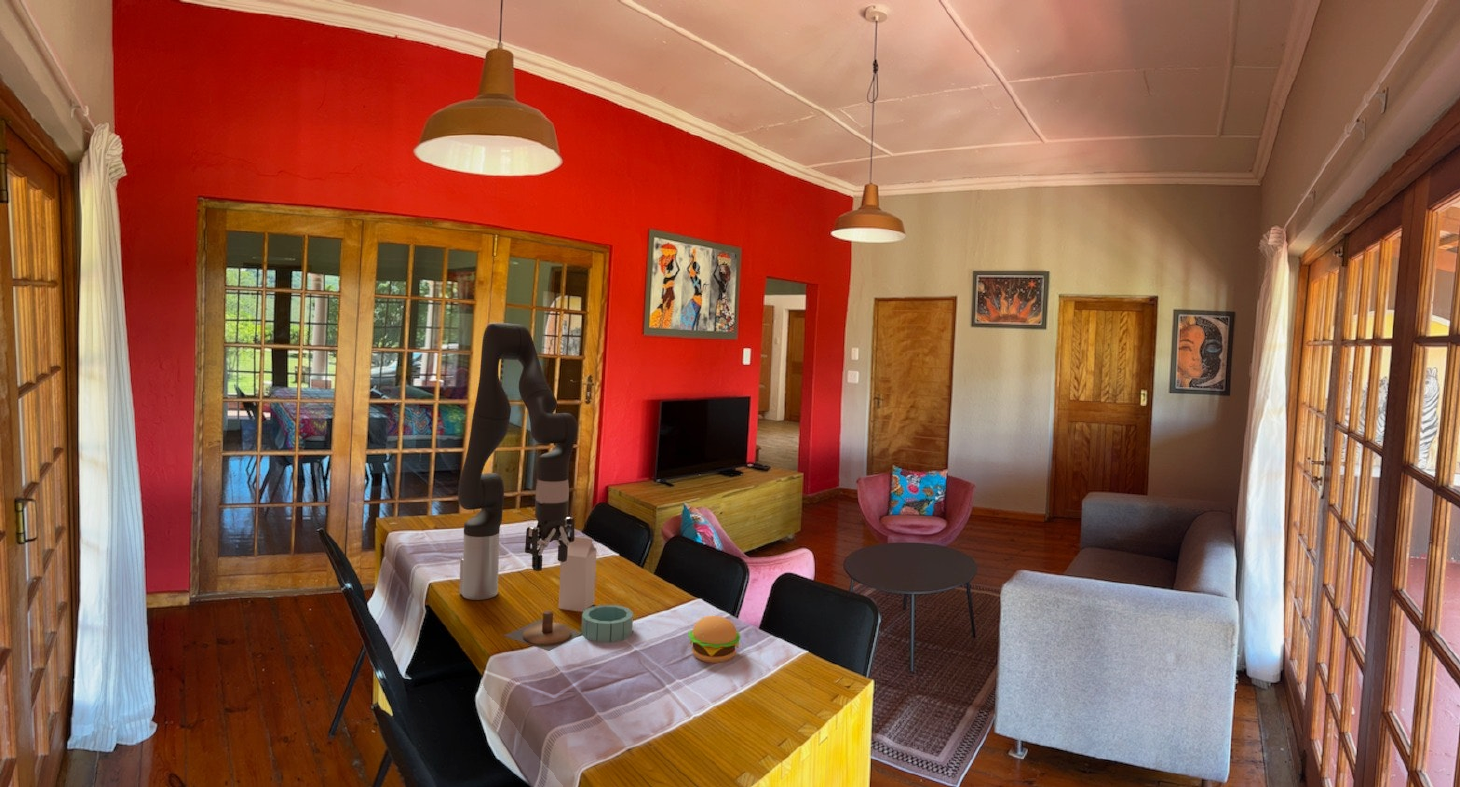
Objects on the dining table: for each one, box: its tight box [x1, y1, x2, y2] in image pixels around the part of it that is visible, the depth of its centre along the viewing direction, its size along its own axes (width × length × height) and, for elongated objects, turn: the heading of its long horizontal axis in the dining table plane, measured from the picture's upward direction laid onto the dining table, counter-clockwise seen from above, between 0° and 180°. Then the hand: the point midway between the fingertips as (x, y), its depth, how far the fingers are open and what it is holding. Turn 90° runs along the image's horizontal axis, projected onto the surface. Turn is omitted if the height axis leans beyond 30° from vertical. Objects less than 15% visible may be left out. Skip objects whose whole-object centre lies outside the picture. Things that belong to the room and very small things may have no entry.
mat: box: [503, 619, 582, 652], centre depth 173 cm, size 14×12×1 cm
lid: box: [523, 610, 571, 645], centre depth 172 cm, size 11×11×6 cm
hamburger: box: [688, 615, 741, 664], centre depth 168 cm, size 12×12×9 cm
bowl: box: [580, 604, 634, 643], centre depth 177 cm, size 12×12×5 cm
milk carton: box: [558, 536, 597, 613], centre depth 192 cm, size 7×7×19 cm
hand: (549, 565), depth 171 cm, fingers open, 8 cm apart
